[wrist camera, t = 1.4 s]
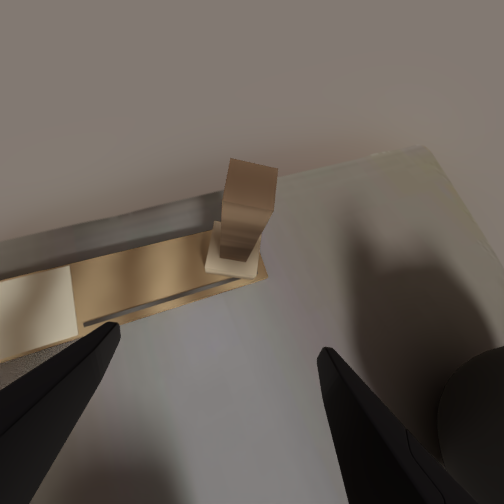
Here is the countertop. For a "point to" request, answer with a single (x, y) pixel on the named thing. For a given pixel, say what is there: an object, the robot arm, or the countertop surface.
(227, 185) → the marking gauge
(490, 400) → the coal bowl
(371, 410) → the robot arm
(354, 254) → the countertop surface
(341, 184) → the countertop surface
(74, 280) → the oak plank
